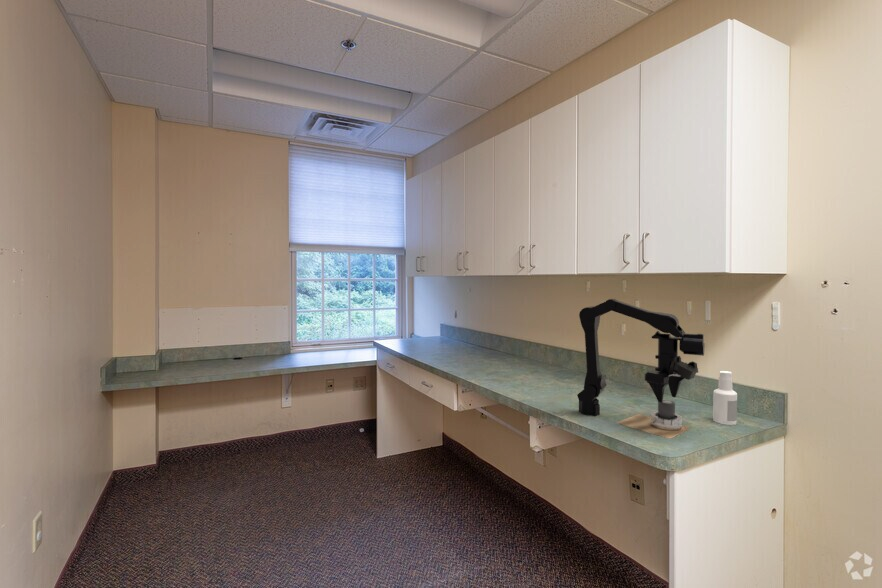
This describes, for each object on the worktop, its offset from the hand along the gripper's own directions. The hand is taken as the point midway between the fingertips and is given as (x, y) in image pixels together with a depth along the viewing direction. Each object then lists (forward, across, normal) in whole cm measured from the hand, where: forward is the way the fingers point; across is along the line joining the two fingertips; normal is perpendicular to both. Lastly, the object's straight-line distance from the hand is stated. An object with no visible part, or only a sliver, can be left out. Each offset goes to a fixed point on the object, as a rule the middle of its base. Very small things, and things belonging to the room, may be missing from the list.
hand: (667, 399), depth 143 cm
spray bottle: (+10, +20, -10) cm, 24 cm away
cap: (+7, 0, 0) cm, 7 cm away
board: (+10, -3, +3) cm, 11 cm away
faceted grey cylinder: (+9, 0, 0) cm, 9 cm away
